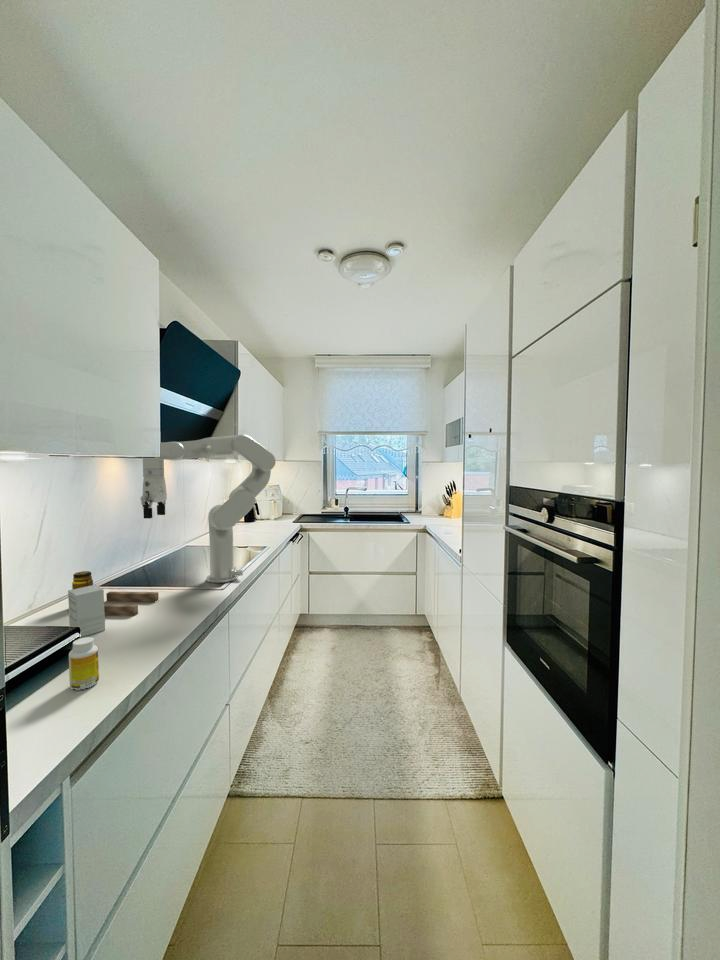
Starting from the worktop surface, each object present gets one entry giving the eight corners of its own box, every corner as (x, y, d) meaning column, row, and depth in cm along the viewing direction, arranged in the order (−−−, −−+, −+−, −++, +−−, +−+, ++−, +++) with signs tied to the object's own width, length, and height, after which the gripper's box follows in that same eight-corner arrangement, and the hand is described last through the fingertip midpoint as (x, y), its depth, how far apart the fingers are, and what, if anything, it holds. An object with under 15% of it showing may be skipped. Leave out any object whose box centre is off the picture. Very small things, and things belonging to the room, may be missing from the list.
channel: (158, 600, 153) (158, 592, 153) (134, 615, 138) (134, 606, 138) (110, 599, 154) (109, 591, 154) (81, 614, 139) (80, 605, 139)
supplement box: (96, 624, 131) (95, 584, 130) (105, 630, 126) (104, 588, 125) (69, 631, 125) (67, 589, 125) (77, 638, 121) (75, 595, 120)
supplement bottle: (102, 684, 96) (100, 640, 95) (73, 694, 92) (71, 648, 91) (95, 675, 100) (93, 633, 99) (67, 685, 96) (65, 641, 95)
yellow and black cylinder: (67, 610, 143) (65, 575, 142) (82, 602, 151) (81, 569, 151) (89, 610, 143) (87, 575, 143) (103, 601, 152) (102, 568, 151)
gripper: (151, 474, 158) (152, 519, 158) (173, 472, 175) (174, 513, 176) (131, 474, 158) (132, 519, 159) (155, 472, 175) (157, 513, 176)
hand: (154, 516), depth 167 cm, fingers open, 9 cm apart
